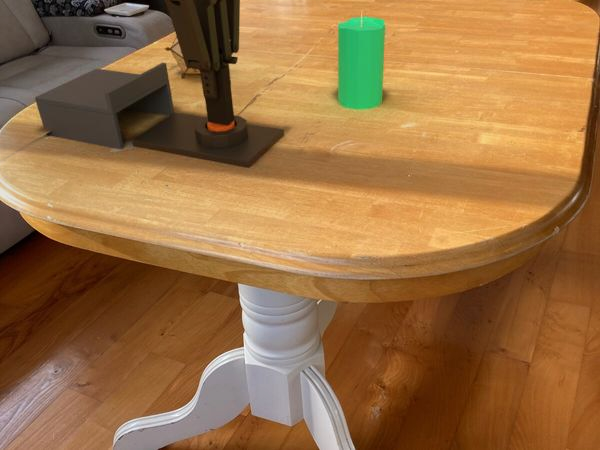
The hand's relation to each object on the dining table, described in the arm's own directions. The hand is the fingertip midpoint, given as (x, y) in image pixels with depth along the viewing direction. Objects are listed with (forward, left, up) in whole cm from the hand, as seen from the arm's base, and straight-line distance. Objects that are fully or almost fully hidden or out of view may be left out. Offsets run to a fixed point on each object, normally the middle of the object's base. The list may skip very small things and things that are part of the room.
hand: (221, 120), depth 69 cm
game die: (-16, +20, -3) cm, 26 cm away
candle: (+11, +18, -3) cm, 21 cm away
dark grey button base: (-2, 0, -3) cm, 4 cm away
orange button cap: (0, 0, -2) cm, 2 cm away
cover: (-17, 0, -3) cm, 17 cm away
